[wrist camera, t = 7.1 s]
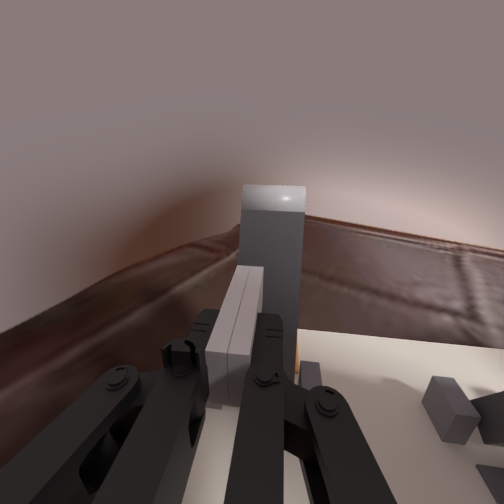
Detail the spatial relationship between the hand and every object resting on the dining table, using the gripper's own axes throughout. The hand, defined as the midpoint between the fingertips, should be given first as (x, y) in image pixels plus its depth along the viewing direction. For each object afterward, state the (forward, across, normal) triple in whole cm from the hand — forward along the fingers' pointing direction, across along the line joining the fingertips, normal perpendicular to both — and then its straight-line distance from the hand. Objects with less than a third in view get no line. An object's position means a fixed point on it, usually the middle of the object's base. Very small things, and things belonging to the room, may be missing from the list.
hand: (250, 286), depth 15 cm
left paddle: (-1, +1, -6) cm, 6 cm away
